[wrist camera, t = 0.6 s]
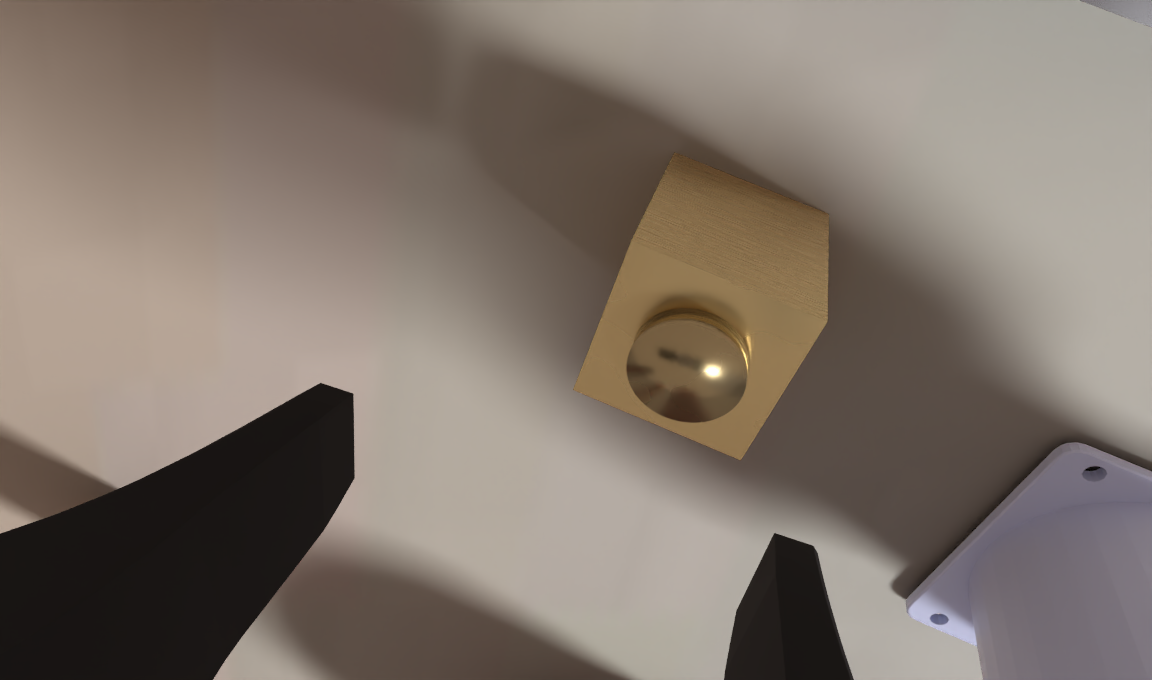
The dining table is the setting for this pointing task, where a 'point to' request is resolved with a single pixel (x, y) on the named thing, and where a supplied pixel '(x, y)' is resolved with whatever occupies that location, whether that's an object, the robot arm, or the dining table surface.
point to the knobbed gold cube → (711, 307)
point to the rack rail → (1127, 9)
